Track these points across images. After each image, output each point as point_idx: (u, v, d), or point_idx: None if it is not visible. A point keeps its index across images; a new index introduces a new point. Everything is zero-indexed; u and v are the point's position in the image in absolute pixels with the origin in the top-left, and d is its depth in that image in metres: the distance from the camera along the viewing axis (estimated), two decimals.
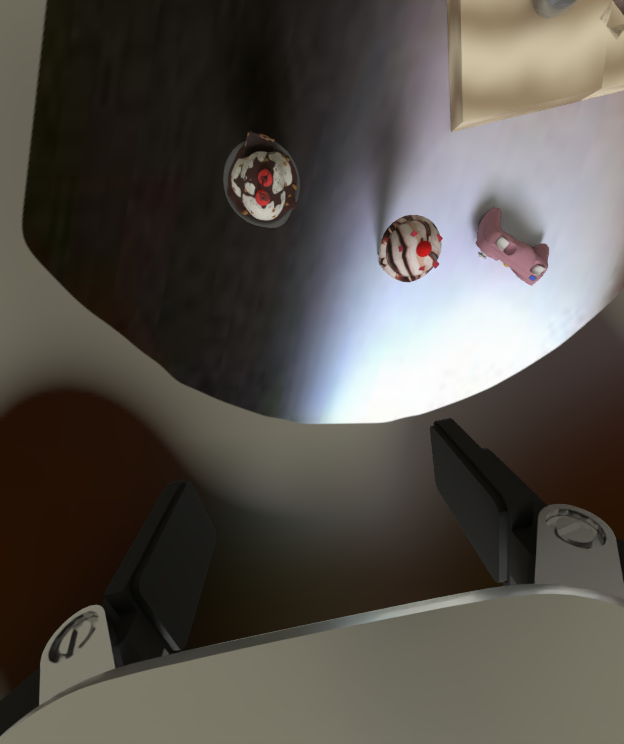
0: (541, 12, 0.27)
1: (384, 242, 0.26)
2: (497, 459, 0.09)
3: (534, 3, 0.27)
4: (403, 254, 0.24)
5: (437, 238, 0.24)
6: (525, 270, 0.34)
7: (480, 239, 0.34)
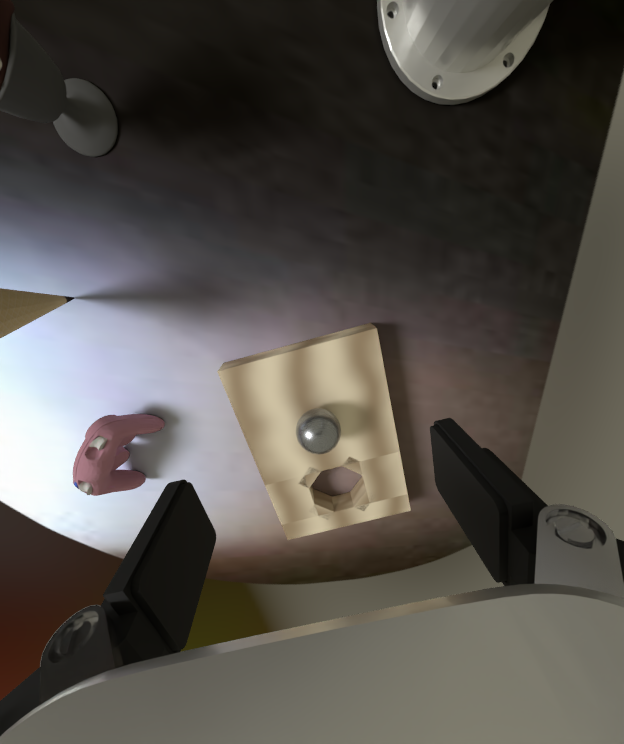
0: (298, 420, 0.29)
1: None
2: (497, 459, 0.09)
3: (305, 412, 0.29)
4: None
5: None
6: (76, 475, 0.28)
7: (110, 419, 0.29)
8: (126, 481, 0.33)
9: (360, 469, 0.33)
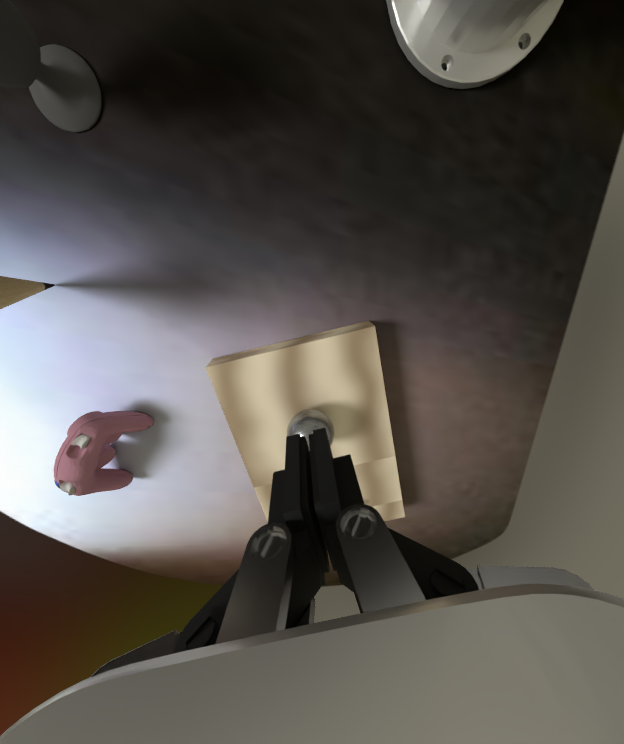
0: None
1: None
2: None
3: (297, 413, 0.27)
4: None
5: None
6: (57, 475, 0.27)
7: (94, 415, 0.27)
8: (112, 481, 0.31)
9: None
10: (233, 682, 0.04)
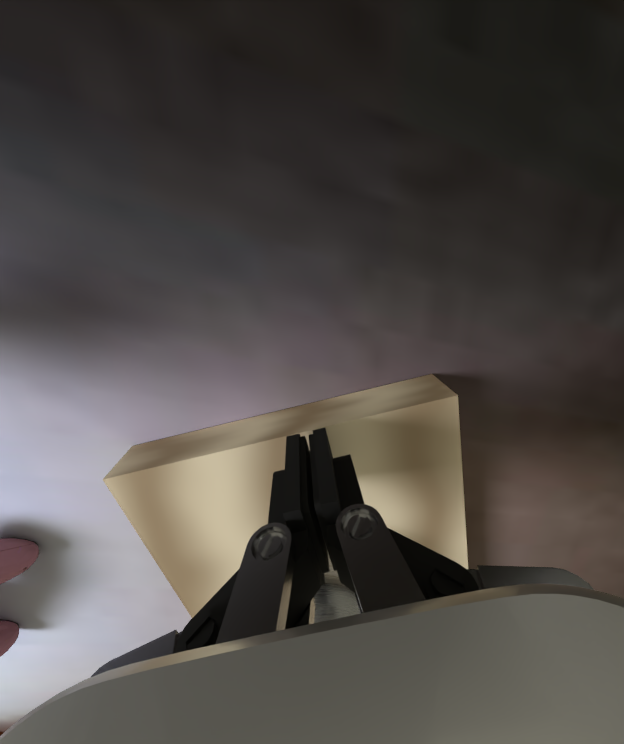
0: None
1: None
2: None
3: None
4: None
5: None
6: None
7: None
8: None
9: None
10: (233, 682, 0.04)
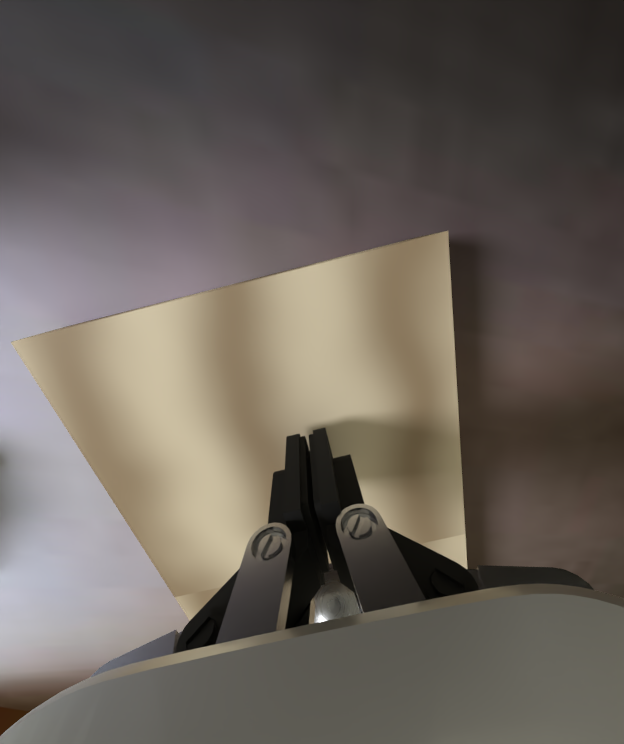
0: None
1: None
2: None
3: None
4: None
5: None
6: None
7: None
8: None
9: None
10: (233, 682, 0.04)
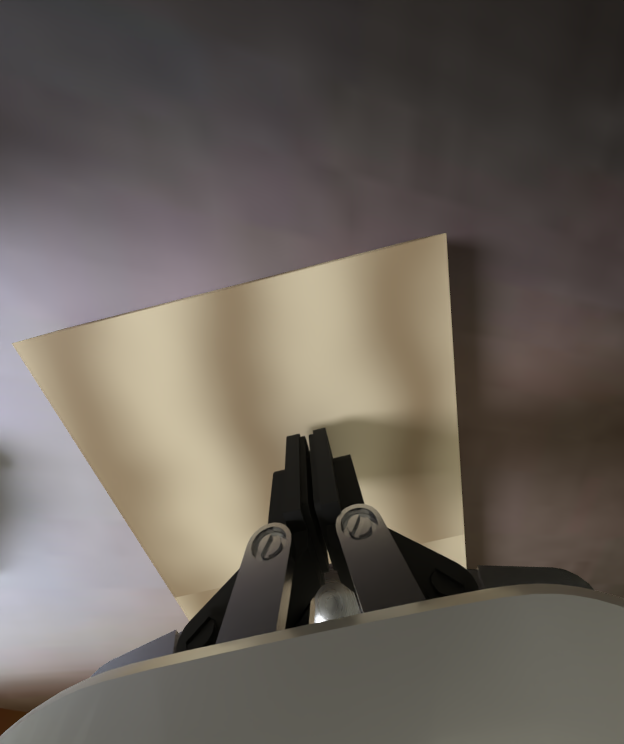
0: None
1: None
2: None
3: None
4: None
5: None
6: None
7: None
8: None
9: None
10: (233, 682, 0.04)
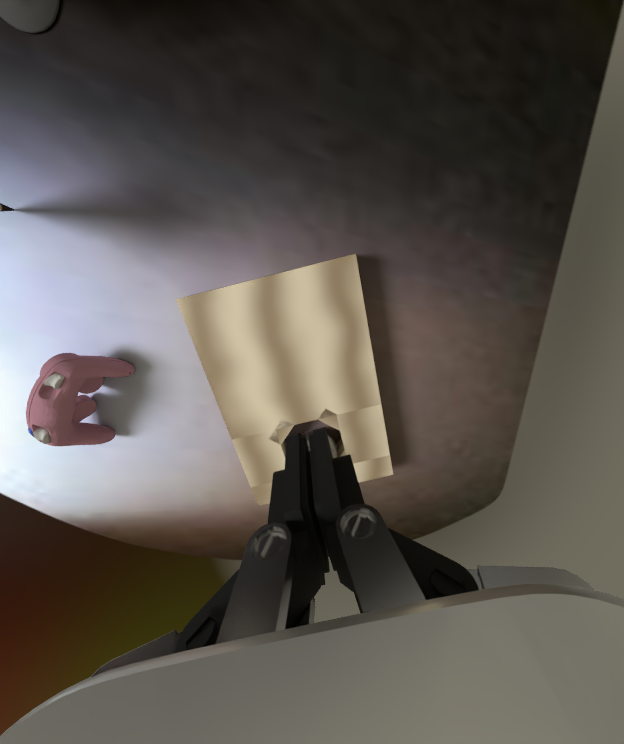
0: None
1: None
2: None
3: None
4: None
5: None
6: (29, 419, 0.25)
7: (70, 356, 0.26)
8: (91, 434, 0.29)
9: (338, 424, 0.30)
10: (233, 682, 0.04)
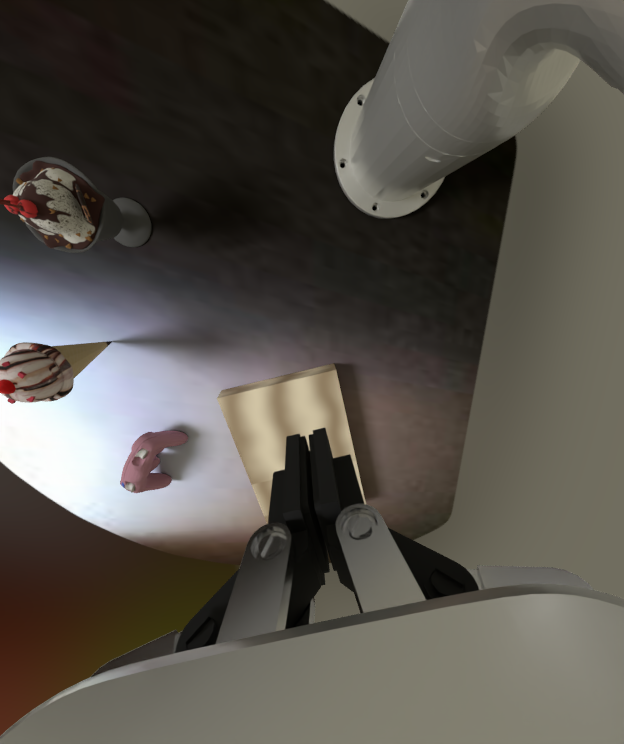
0: None
1: (32, 346, 0.25)
2: None
3: None
4: (0, 367, 0.23)
5: (27, 397, 0.24)
6: (124, 478, 0.38)
7: (149, 435, 0.38)
8: (158, 482, 0.42)
9: None
10: (233, 682, 0.04)
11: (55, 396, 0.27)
